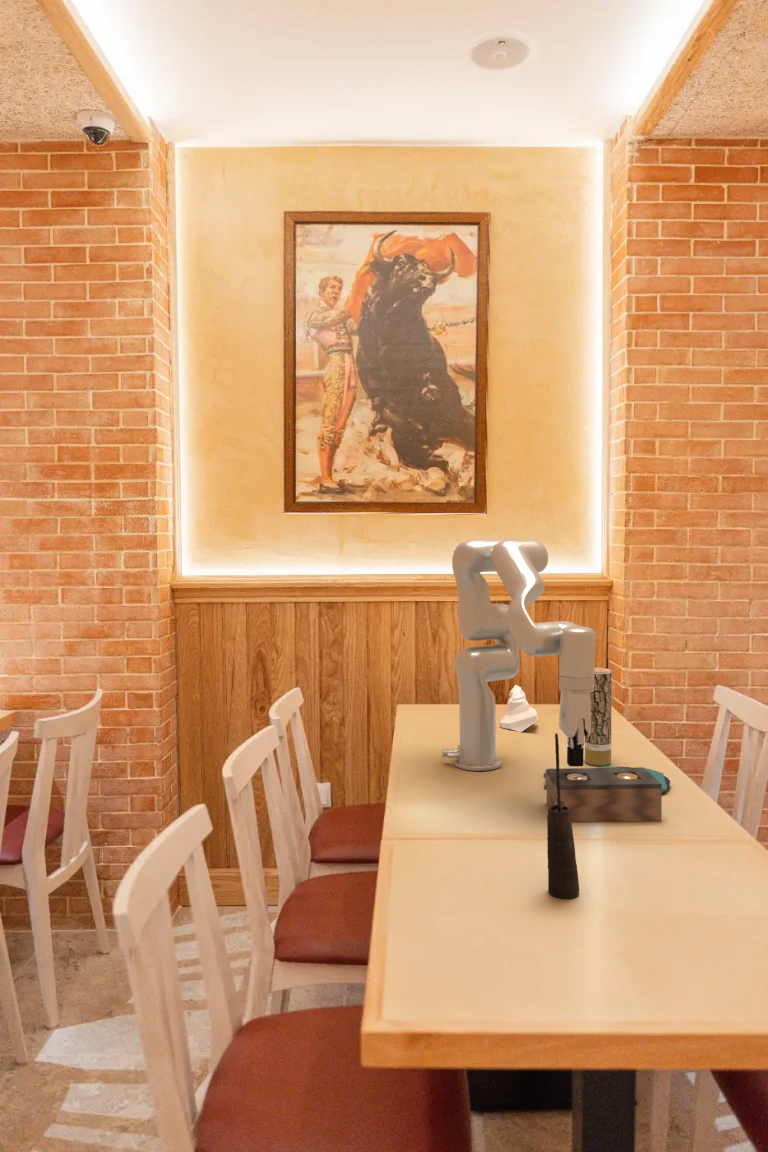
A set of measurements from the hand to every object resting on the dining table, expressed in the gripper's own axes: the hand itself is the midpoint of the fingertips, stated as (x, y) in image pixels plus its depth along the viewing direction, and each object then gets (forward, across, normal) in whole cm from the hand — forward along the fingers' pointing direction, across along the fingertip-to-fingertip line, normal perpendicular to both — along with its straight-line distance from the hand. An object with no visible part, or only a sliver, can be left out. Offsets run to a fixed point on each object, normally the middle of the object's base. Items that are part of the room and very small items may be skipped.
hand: (575, 765), depth 177 cm
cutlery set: (+11, -19, +12) cm, 26 cm away
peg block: (+10, +1, +6) cm, 12 cm away
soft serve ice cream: (+13, -76, +1) cm, 77 cm away
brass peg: (+10, +1, +11) cm, 15 cm away
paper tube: (+11, -36, +15) cm, 41 cm away
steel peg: (+10, +1, 0) cm, 10 cm away
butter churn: (+10, +39, -11) cm, 42 cm away
